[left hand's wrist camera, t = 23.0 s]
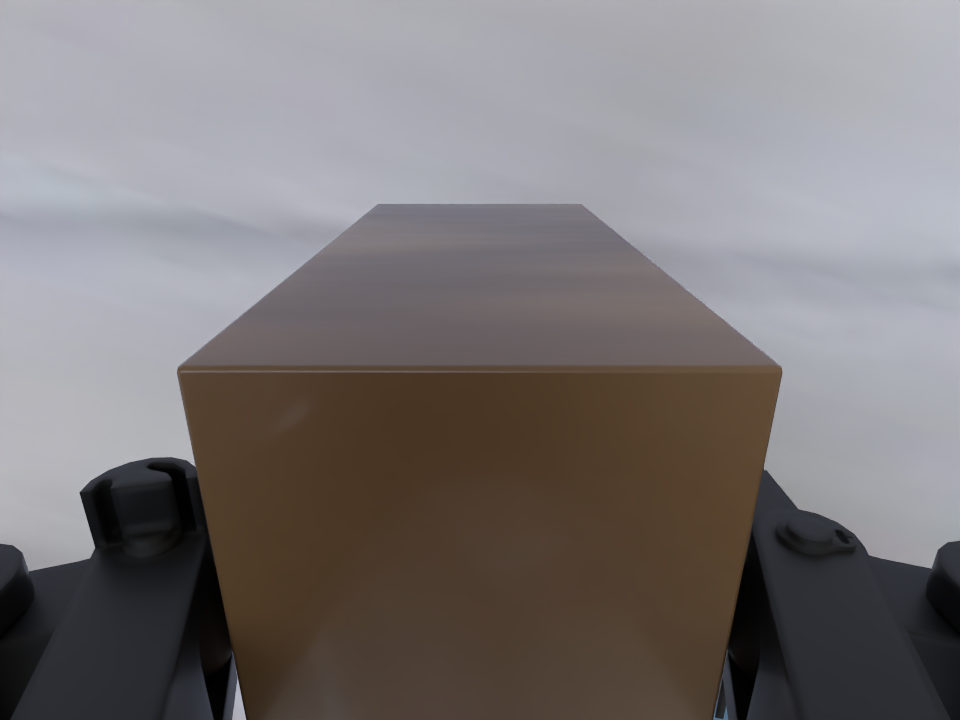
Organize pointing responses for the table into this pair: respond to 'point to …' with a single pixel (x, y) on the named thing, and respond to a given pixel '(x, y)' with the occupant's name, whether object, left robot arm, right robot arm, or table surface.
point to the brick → (479, 474)
